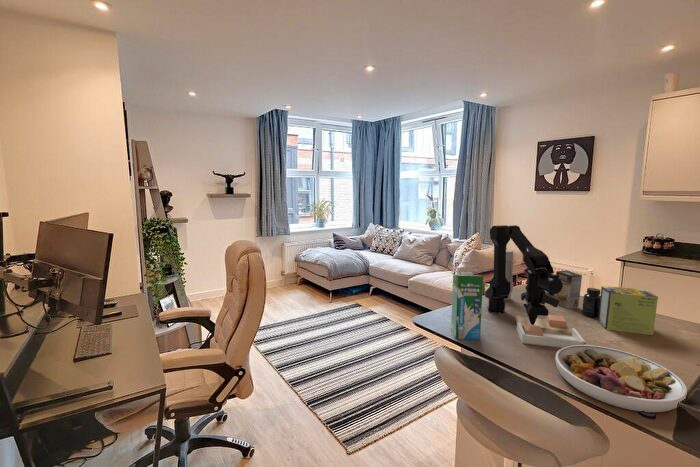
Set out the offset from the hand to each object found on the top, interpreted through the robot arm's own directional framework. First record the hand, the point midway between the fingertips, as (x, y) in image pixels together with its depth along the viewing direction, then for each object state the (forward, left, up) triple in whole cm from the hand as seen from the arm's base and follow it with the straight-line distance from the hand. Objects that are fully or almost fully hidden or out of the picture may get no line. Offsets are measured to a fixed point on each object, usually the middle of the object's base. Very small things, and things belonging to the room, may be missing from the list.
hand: (532, 324), depth 134 cm
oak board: (+5, +7, -4) cm, 9 cm away
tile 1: (0, -2, -3) cm, 4 cm away
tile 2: (+10, +7, -2) cm, 12 cm away
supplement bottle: (+29, +28, -4) cm, 40 cm away
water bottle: (-5, +40, -4) cm, 40 cm away
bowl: (+16, -31, -4) cm, 35 cm away
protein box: (+37, +16, -4) cm, 41 cm away
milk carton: (-25, -8, -4) cm, 27 cm away
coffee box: (+22, +39, -4) cm, 44 cm away
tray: (+5, -4, -4) cm, 8 cm away
